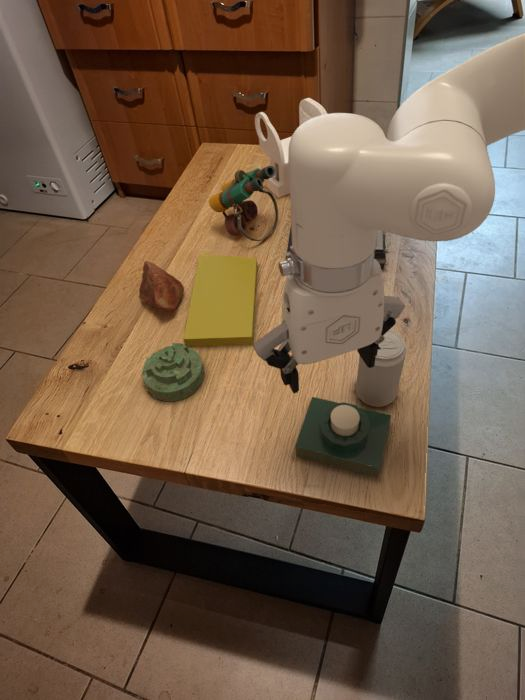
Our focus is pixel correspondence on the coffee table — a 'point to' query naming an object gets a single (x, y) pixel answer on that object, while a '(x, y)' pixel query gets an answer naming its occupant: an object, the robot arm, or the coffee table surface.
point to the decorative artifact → (173, 372)
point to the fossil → (160, 287)
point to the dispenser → (343, 439)
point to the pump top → (344, 420)
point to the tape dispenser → (282, 146)
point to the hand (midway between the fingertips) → (328, 371)
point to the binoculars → (242, 200)
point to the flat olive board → (222, 302)
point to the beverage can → (382, 372)
